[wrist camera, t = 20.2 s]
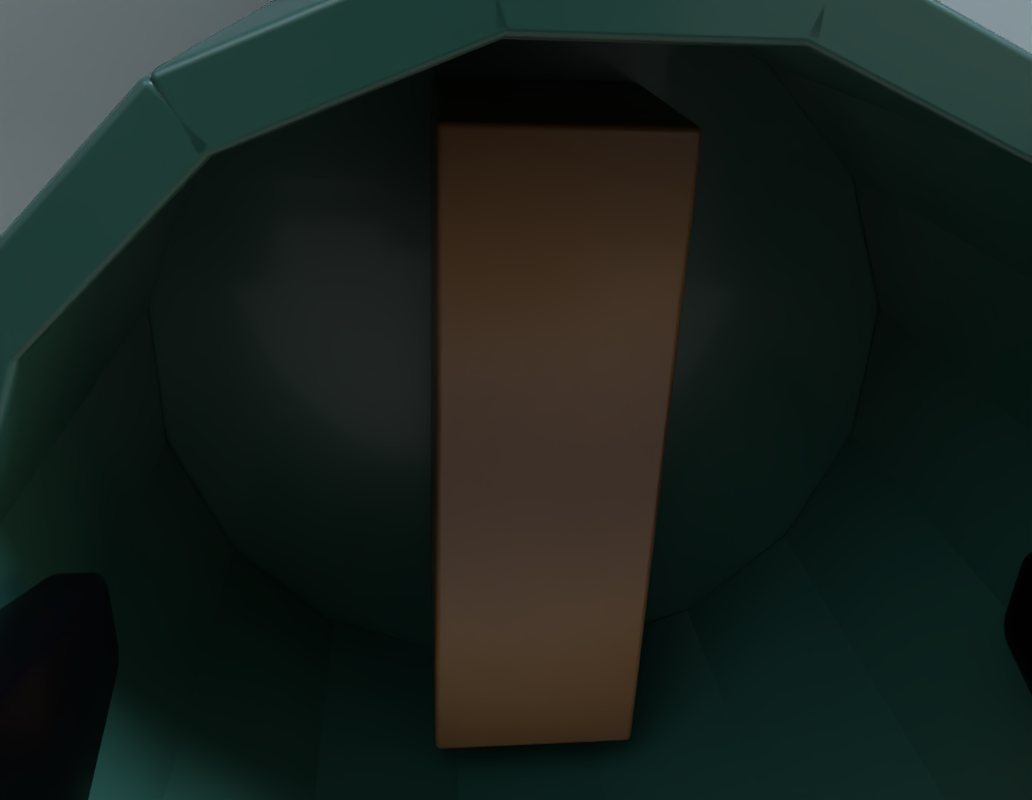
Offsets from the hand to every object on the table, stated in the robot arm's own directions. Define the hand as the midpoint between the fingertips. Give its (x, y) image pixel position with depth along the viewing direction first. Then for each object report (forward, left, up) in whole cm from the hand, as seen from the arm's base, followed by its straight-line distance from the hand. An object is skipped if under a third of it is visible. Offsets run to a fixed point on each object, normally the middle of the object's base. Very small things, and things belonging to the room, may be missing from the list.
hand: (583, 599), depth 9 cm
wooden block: (0, 0, -5) cm, 5 cm away
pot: (0, 0, -6) cm, 6 cm away
